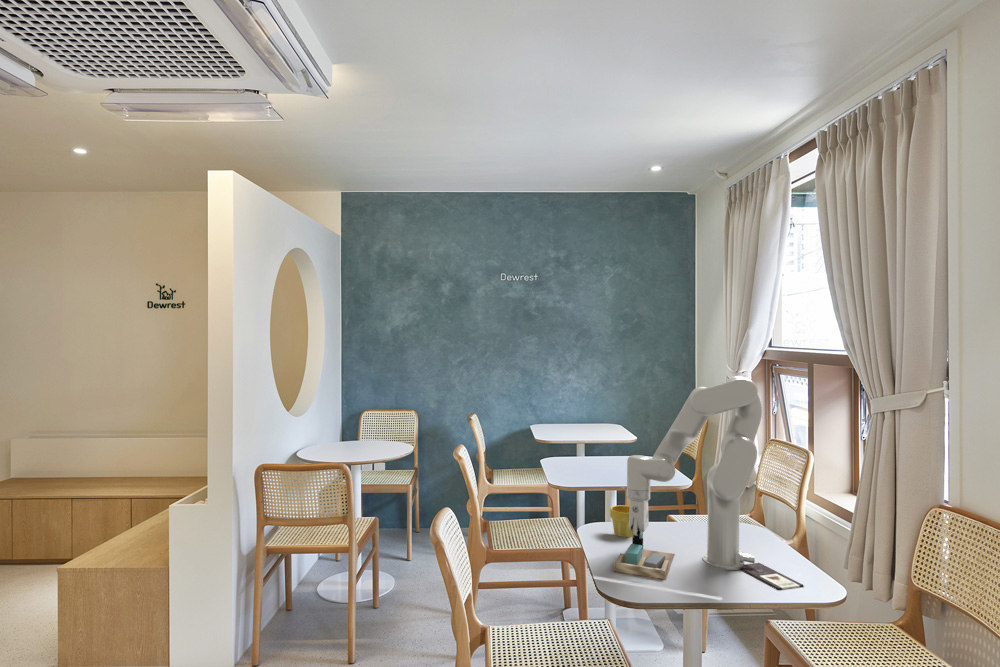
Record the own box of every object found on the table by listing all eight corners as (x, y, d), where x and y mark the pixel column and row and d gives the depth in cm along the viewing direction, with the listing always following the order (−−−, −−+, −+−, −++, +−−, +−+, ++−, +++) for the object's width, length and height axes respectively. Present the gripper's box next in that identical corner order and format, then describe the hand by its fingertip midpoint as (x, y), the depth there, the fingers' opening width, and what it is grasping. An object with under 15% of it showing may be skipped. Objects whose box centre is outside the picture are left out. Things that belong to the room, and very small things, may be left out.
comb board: (674, 556, 196) (675, 546, 196) (665, 583, 174) (665, 572, 174) (628, 549, 202) (628, 540, 202) (613, 574, 179) (613, 563, 179)
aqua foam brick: (642, 556, 193) (642, 545, 193) (637, 565, 185) (637, 554, 185) (631, 554, 195) (631, 543, 195) (625, 563, 186) (625, 552, 187)
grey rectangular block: (665, 566, 184) (665, 555, 184) (656, 576, 177) (656, 564, 177) (653, 564, 186) (653, 552, 186) (644, 573, 179) (644, 561, 179)
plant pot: (643, 535, 217) (643, 508, 217) (631, 542, 209) (631, 514, 209) (617, 529, 223) (617, 503, 223) (604, 536, 215) (605, 509, 215)
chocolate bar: (759, 562, 190) (803, 585, 173) (759, 565, 190) (803, 588, 173) (735, 565, 187) (778, 588, 170) (735, 568, 187) (778, 591, 170)
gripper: (646, 500, 188) (645, 559, 188) (653, 490, 202) (652, 544, 201) (622, 497, 191) (621, 555, 190) (631, 487, 205) (630, 541, 204)
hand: (637, 549), depth 196 cm, fingers closed
